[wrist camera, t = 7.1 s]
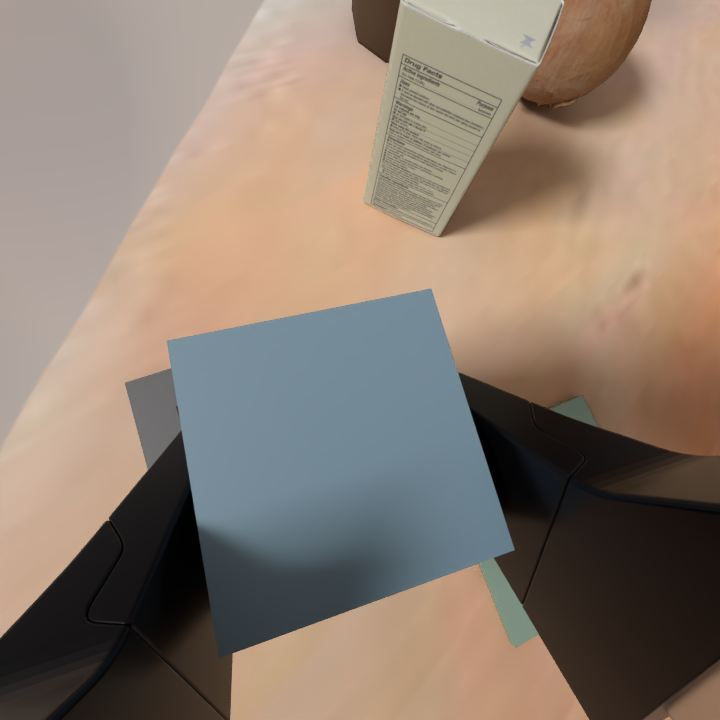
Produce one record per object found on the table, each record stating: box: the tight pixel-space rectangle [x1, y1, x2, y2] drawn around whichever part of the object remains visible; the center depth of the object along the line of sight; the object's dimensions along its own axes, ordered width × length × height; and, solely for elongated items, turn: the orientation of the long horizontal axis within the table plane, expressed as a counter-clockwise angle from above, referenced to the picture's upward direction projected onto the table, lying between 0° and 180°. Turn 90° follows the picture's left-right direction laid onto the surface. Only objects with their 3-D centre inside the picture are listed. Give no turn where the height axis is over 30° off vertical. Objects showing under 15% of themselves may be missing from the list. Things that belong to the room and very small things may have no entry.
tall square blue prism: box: [167, 289, 515, 658], centre depth 10 cm, size 4×4×10 cm
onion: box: [521, 0, 652, 111], centre depth 25 cm, size 10×9×10 cm
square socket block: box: [125, 369, 181, 470], centre depth 20 cm, size 10×10×2 cm
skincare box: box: [364, 0, 564, 236], centre depth 20 cm, size 6×4×12 cm
